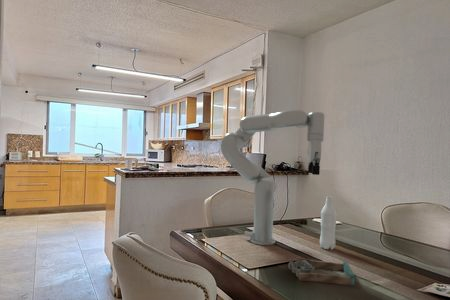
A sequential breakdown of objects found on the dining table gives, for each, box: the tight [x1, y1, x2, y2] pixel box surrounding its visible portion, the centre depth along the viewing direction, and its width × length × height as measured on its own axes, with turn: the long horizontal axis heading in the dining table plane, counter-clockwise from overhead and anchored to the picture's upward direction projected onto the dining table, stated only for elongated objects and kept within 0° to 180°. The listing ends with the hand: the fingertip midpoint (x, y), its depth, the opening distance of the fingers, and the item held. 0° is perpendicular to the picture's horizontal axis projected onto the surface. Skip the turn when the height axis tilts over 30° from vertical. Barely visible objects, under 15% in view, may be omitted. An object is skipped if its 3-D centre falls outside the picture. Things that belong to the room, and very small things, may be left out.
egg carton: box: [287, 257, 316, 278], centre depth 115 cm, size 11×8×4 cm
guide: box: [296, 256, 356, 287], centre depth 113 cm, size 19×17×4 cm
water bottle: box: [319, 195, 338, 251], centre depth 146 cm, size 7×7×25 cm
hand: (313, 173), depth 145 cm, fingers open, 9 cm apart
